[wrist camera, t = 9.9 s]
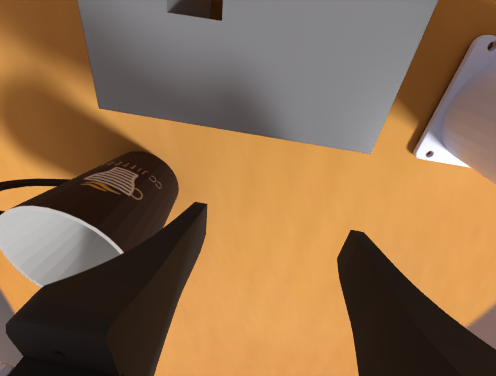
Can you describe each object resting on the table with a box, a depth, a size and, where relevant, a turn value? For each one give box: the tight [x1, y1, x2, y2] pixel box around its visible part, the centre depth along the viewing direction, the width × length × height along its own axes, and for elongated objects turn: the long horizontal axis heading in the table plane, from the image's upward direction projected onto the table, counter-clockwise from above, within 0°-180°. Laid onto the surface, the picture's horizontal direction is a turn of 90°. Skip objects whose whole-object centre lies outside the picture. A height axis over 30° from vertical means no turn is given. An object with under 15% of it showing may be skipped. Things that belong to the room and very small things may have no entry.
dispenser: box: [77, 0, 438, 154], centre depth 13 cm, size 14×9×7 cm, turn 82°
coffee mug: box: [0, 151, 179, 288], centre depth 18 cm, size 12×9×10 cm
